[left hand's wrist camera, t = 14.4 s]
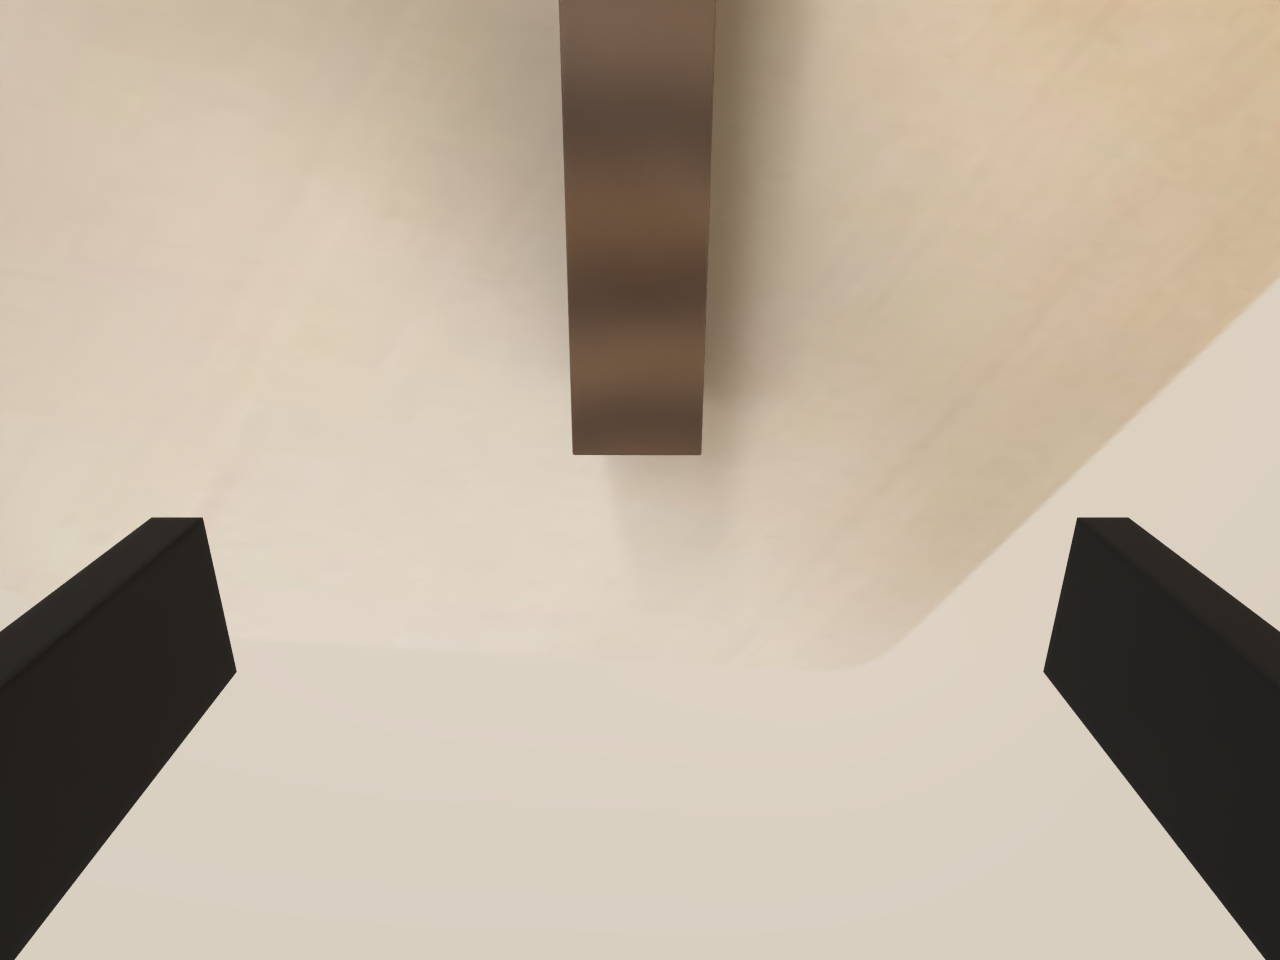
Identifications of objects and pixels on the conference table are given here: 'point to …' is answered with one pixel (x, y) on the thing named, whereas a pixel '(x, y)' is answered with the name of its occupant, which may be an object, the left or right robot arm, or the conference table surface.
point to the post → (637, 219)
